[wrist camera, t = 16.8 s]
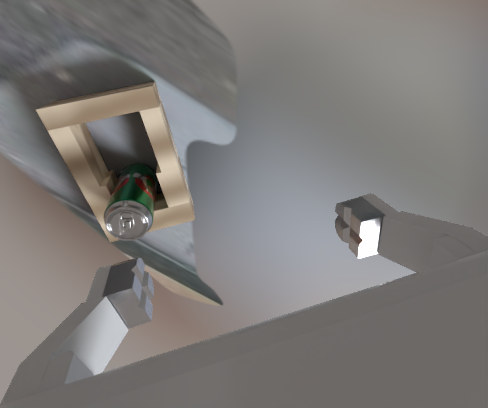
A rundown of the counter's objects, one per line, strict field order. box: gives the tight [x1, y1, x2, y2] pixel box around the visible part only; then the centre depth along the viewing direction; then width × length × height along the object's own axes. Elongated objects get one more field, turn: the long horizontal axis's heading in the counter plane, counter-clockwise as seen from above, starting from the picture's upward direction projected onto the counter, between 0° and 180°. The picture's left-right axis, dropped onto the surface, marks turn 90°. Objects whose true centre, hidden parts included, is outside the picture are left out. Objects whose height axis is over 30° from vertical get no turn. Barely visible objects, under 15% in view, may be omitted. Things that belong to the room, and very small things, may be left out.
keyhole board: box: [36, 81, 195, 242], centre depth 35 cm, size 18×12×5 cm, turn 9°
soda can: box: [104, 164, 158, 241], centre depth 33 cm, size 5×5×12 cm
